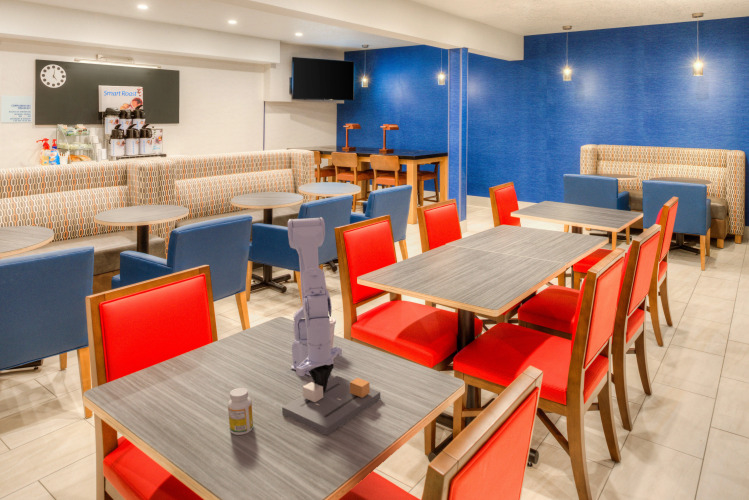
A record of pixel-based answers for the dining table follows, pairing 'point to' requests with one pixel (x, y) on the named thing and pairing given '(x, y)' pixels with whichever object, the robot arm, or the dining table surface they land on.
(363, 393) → the block
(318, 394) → the off white fader
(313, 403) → the fader console
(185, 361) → the dining table surface
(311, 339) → the robot arm
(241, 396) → the supplement bottle
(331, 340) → the smoothie
